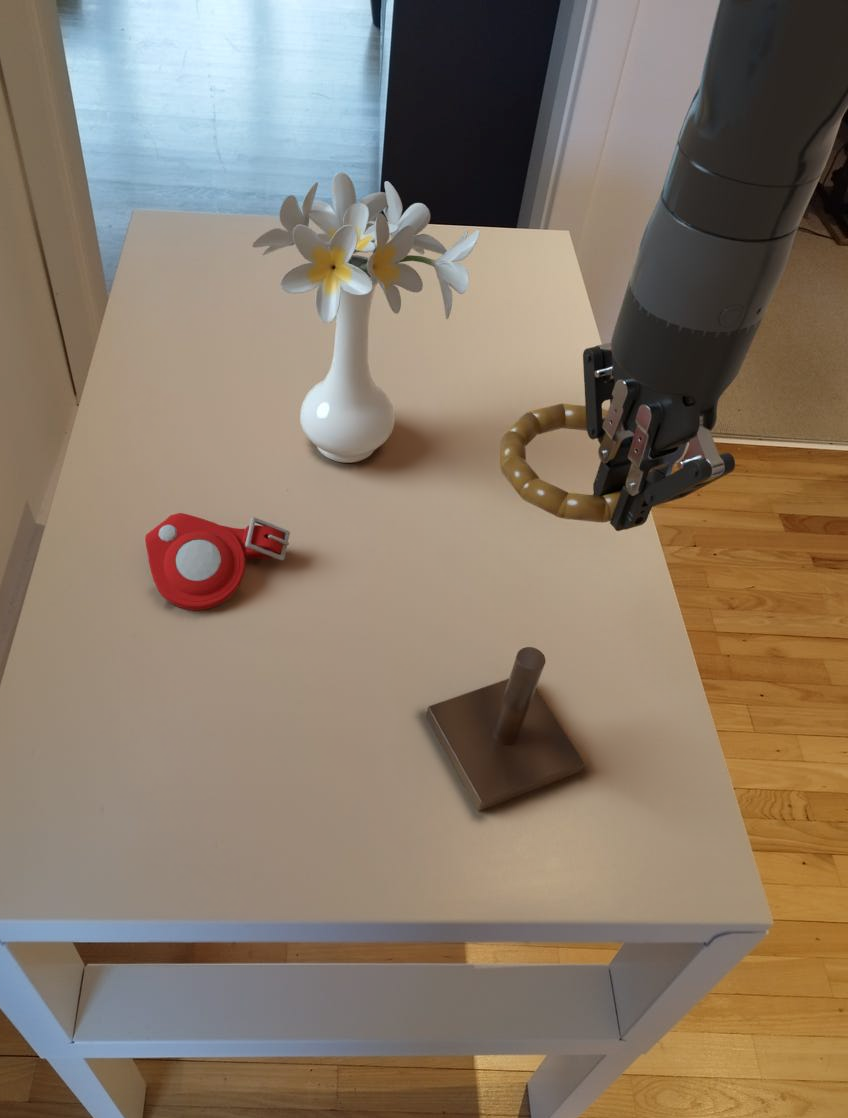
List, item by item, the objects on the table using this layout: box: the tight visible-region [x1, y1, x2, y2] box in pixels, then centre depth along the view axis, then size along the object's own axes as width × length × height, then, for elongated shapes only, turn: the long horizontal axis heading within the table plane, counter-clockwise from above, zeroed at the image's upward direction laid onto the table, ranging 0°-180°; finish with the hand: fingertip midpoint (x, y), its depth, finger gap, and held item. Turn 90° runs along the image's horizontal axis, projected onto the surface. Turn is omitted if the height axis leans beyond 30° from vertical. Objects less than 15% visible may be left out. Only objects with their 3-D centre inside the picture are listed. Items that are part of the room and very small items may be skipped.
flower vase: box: [252, 171, 481, 464], centre depth 82 cm, size 13×18×25 cm
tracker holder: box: [144, 512, 291, 611], centre depth 80 cm, size 12×4×10 cm
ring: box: [499, 403, 653, 524], centre depth 66 cm, size 12×12×2 cm
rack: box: [425, 646, 585, 812], centre depth 67 cm, size 9×9×12 cm
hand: (615, 512), depth 63 cm, fingers closed on ring, 2 cm apart
